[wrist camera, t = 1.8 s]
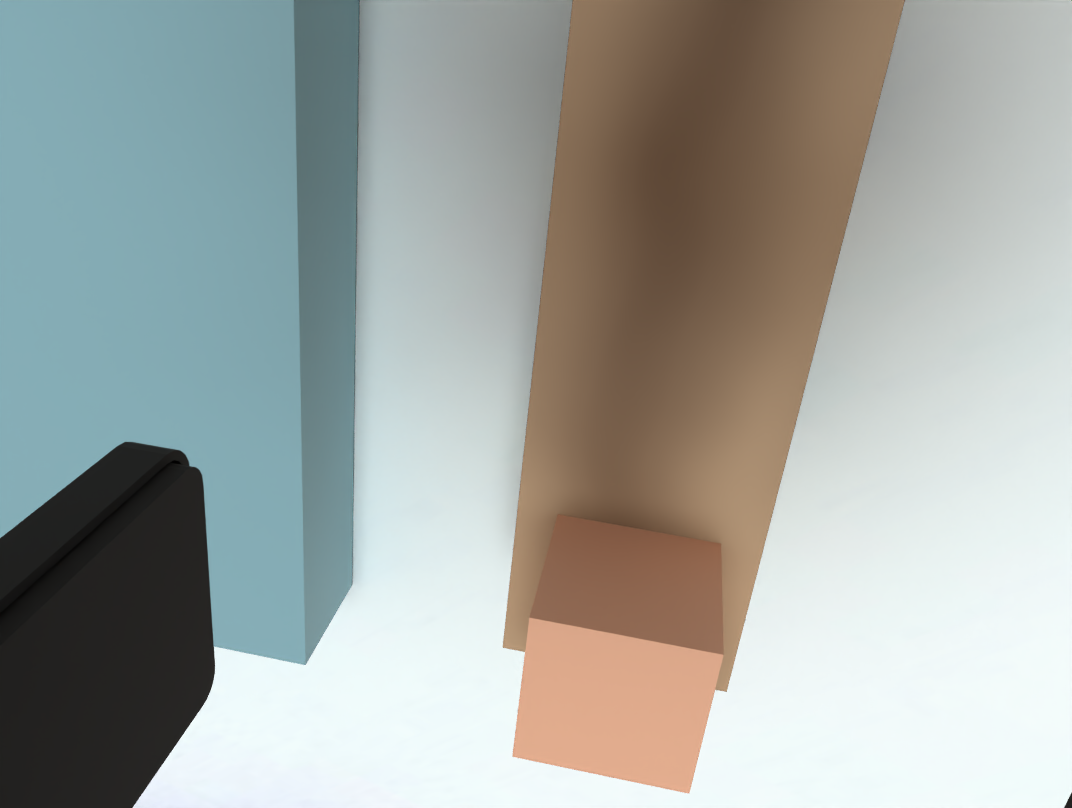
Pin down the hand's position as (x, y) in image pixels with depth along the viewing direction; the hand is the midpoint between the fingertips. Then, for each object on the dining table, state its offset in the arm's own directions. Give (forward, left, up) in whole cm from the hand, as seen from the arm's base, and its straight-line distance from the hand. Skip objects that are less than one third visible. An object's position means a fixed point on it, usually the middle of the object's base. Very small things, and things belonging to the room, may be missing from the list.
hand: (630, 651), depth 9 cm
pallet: (0, 0, -17) cm, 17 cm away
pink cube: (0, +8, -12) cm, 14 cm away
